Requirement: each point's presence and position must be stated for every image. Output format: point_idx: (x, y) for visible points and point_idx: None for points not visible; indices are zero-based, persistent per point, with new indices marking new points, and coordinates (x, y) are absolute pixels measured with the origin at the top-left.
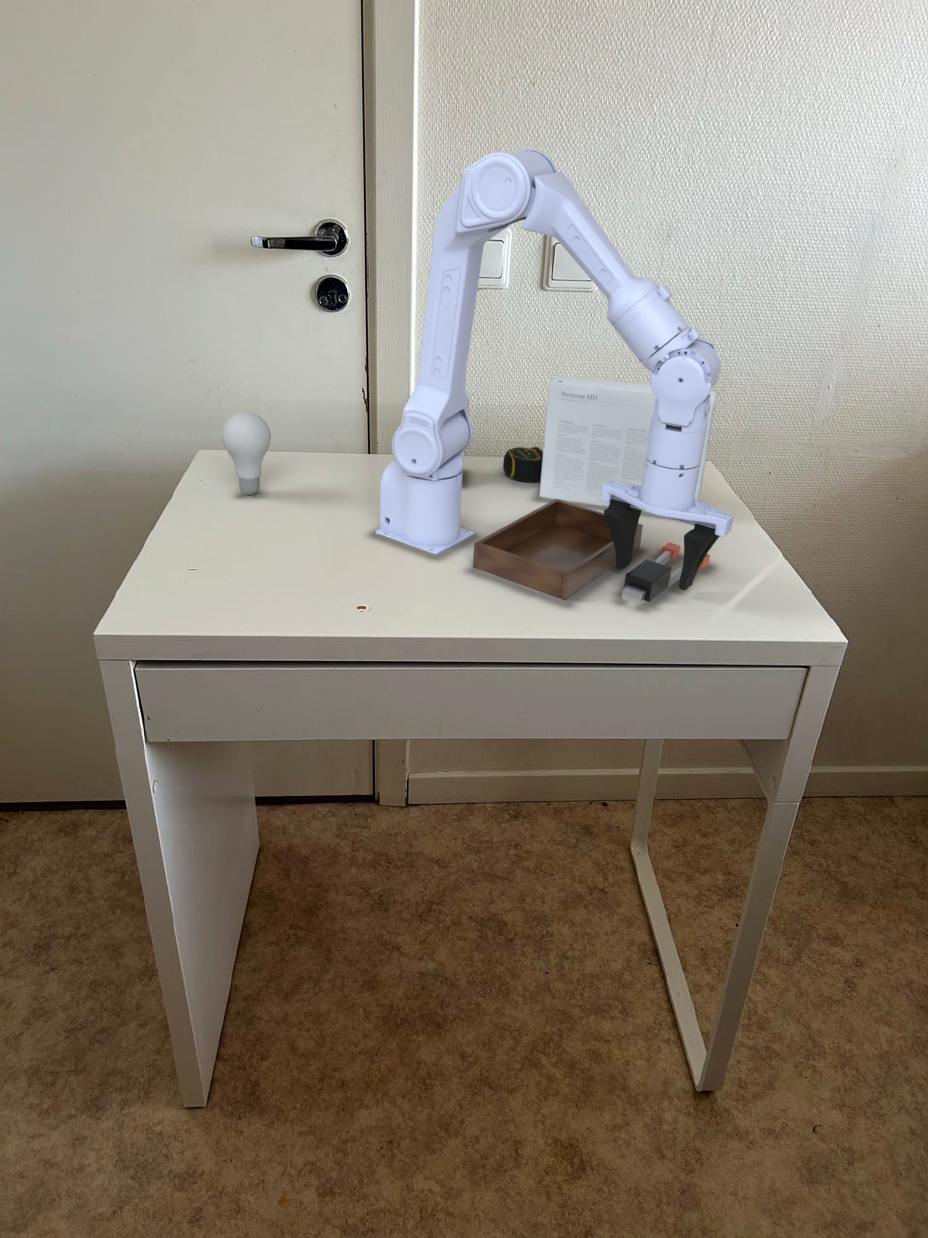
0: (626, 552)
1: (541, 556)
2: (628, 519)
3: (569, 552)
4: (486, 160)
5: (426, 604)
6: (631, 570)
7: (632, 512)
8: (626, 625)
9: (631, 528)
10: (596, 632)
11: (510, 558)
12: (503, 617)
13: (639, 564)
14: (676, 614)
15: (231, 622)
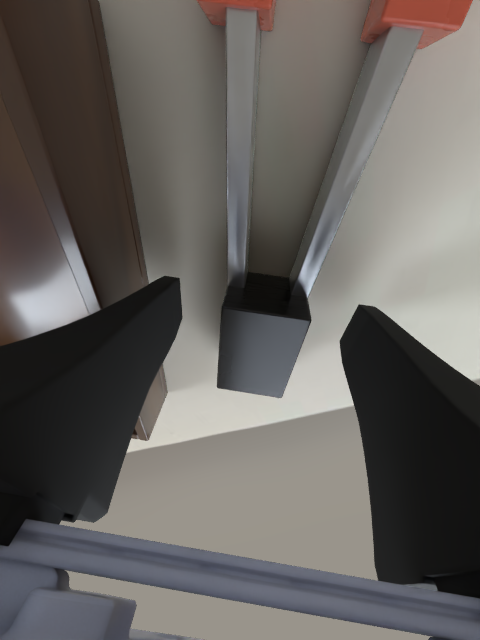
0: (163, 332)
1: (6, 296)
2: (98, 460)
3: (8, 240)
4: None
5: None
6: (219, 374)
7: (73, 480)
8: (267, 405)
9: (119, 383)
10: (239, 424)
11: None
12: None
13: (221, 342)
14: (337, 360)
15: None
